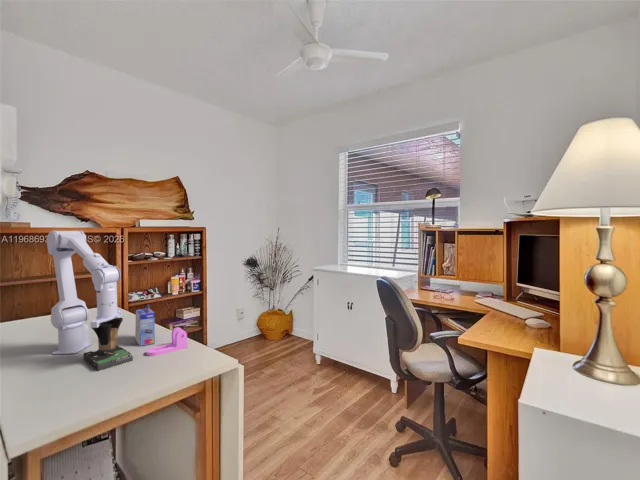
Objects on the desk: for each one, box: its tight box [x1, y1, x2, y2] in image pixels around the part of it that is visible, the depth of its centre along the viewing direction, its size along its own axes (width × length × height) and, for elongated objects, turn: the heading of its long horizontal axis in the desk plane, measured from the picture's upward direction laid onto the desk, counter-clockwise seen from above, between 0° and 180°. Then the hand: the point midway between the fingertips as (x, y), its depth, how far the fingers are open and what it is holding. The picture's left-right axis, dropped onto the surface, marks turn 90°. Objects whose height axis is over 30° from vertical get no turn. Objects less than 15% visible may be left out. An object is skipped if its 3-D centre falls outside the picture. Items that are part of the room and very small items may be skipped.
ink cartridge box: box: [134, 303, 156, 347], centre depth 123 cm, size 10×6×14 cm, turn 40°
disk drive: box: [83, 344, 134, 372], centre depth 106 cm, size 10×3×15 cm
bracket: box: [145, 326, 188, 357], centre depth 114 cm, size 13×6×7 cm, turn 132°
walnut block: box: [97, 328, 119, 350], centre depth 106 cm, size 4×4×6 cm
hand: (108, 342), depth 106 cm, fingers closed on walnut block, 4 cm apart
